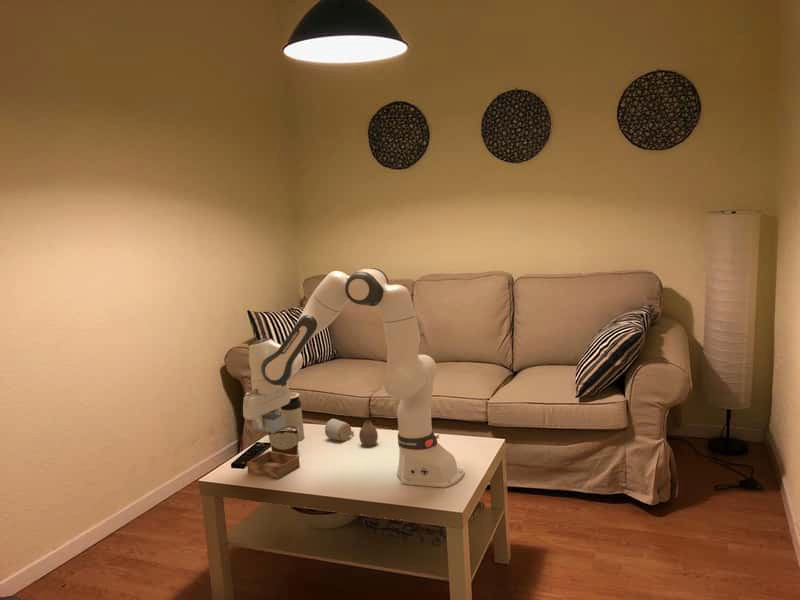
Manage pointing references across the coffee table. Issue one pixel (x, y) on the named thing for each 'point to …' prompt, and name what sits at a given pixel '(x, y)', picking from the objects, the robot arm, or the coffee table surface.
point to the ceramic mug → (338, 430)
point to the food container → (285, 440)
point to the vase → (368, 434)
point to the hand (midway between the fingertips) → (269, 423)
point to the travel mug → (294, 414)
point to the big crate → (273, 464)
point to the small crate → (271, 423)
